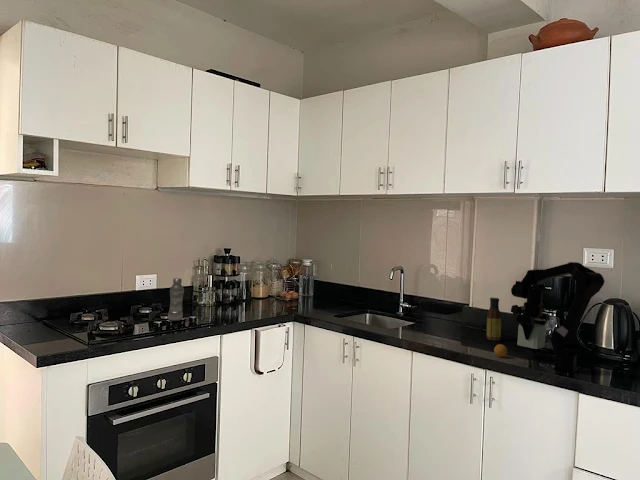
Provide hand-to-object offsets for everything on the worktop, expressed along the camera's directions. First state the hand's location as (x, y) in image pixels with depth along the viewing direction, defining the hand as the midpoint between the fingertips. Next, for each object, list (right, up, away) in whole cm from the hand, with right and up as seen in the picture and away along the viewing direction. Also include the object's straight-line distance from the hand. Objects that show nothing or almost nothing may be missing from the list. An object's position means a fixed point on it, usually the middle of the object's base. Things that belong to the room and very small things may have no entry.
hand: (531, 338), depth 202 cm
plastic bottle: (-155, +2, +32) cm, 159 cm away
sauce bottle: (-5, -7, +31) cm, 32 cm away
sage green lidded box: (0, -3, 0) cm, 3 cm away
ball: (-13, -5, -1) cm, 14 cm away
